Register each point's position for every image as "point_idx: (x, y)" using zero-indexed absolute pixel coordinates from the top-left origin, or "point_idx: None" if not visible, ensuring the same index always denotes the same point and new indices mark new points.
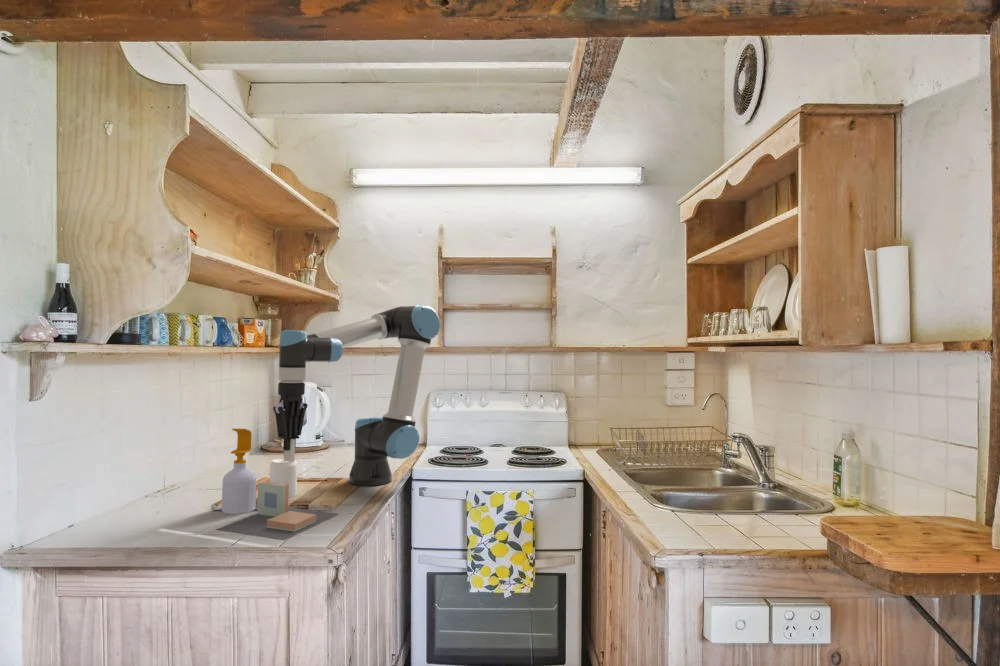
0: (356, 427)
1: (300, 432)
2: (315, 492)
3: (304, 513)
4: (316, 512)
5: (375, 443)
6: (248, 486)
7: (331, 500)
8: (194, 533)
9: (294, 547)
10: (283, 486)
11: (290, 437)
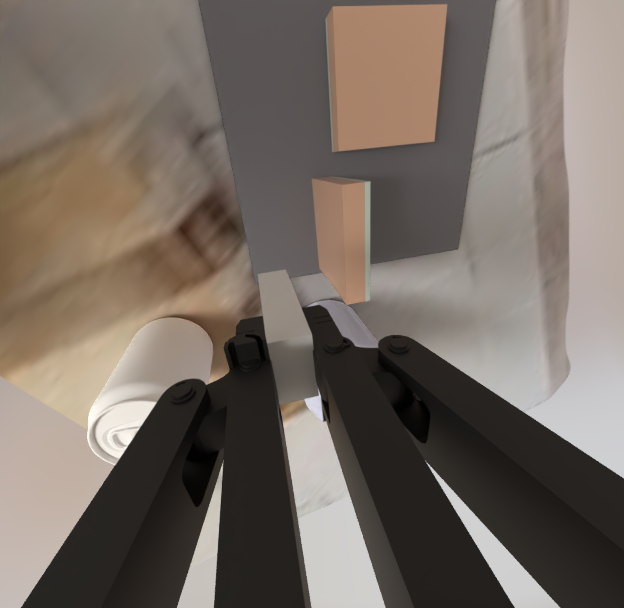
0: None
1: (169, 404)
2: (58, 319)
3: (339, 71)
4: (237, 114)
5: None
6: (353, 334)
7: (76, 197)
8: (469, 274)
9: None
10: (369, 184)
11: (338, 343)
